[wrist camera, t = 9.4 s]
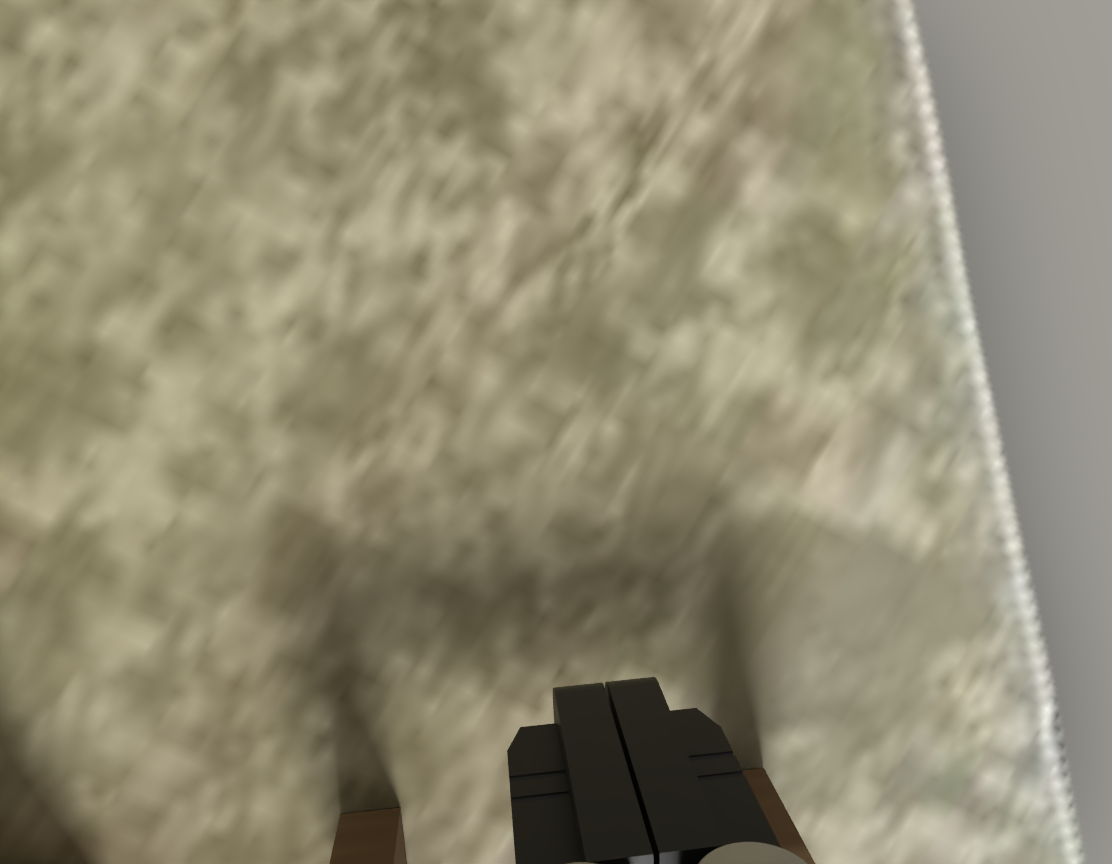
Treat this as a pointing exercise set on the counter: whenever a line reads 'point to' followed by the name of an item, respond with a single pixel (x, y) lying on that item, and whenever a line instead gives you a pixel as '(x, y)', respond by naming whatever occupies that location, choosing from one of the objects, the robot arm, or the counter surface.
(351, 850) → the bridge
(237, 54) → the counter surface
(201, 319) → the counter surface
